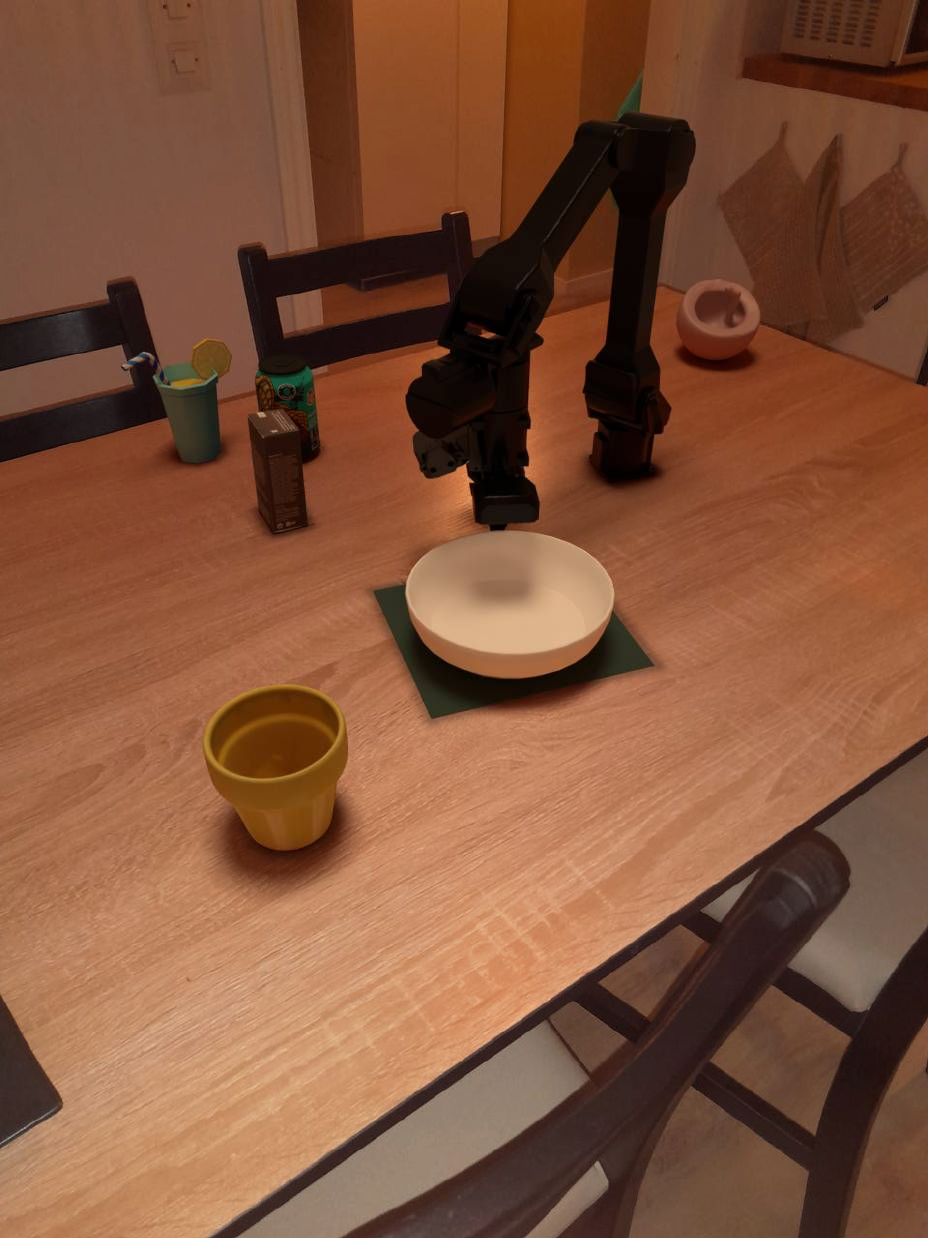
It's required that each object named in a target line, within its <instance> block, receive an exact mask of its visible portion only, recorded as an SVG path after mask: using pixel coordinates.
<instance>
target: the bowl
mask: <svg viewBox="0 0 928 1238" xmlns="http://www.w3.org/2000/svg"><path fill="white" fill-rule="evenodd" d="M405 584H406V591H405V595H406V600H407V606H408V610H409V614H410V618H411V621H412V623H413V625H414V627H415V629H416V631H417V632H418V634H419V636H420V637H421V639H422V641H423V643H424V644H425V645H426V646H427V647H428V648H429V649H430V650H431V651H432V652H433V653H434V654H436V655H437V656H439V657H440V658H442V659H443V660H445V661H446V662H448V663H450V664H452V665H454V666H457V667H459V668H461V669H463V670H467V671H469V672H471V673H475V674H479V675H482V676H486V677H492V678H500V679H523V678H530V677H537V676H540V675H544V674H547V673H551V672H554V671H558V670H561V669H563V668H565V667H567V666H569V665H571V664H574V663H575V662H577V661H578V660H580V659H581V658H582V657H584V656H585V655H587V654H588V653H589V652H590V651H591V649H592V648H593V647H594V646H595V645H596V644H597V642H598V641H599V639H600V638H601V636H602V634H603V633H604V631H605V629H606V627H607V625H608V623H609V621H610V617H611V613H612V610H613V611H614V605H615V598H616V593H615V588H614V583H613V581H612V579H611V577H610V574H609V573H608V571H607V570H606V569H605V567H604V566H603V565H602V563H600V562H599V560H598V559H596V557H594V556H593V555H591V554H590V553H588V551H585V549H583V548H580V547H579V546H577V545H575V544H573V543H571V542H569V541H567V540H563V539H561V538H558V537H556V536H555V537H554V536H551V535H547V534H542V533H538V532H534V531H533V532H532V531H525V530H506V529H505V530H497V531H490V530H488V531H478V532H475V533H470V534H466V535H462V536H458V537H456V538H453V539H450V540H448V541H444V542H443V543H441V544H439V545H437V546H436V547H434V548H432V549H430V550H429V551H428V552H426V554H424V555H423V556H422V557H421V558H419V560H418V561H417V562H416V563H415V565H414V566H413V567H412V568H411V570H410V571H409V573H408V576H407V578H406V581H405Z"/></svg>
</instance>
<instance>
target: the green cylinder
mask: <svg viewBox="0 0 928 1238" xmlns="http://www.w3.org/2000/svg"><path fill="white" fill-rule="evenodd" d="M257 367H258V369H257V372H256V374H255V376H254V386H255V393H256V400H257V407H258V413H259V412H265V411H271V410H278V409H283V410H284V411H285V412H286V414H287V415H288V416H289V417H290V419H291V420H292V421H293V422H294V424H295V425H296V426H297V428H298V429H299V434H300V445H301V456H302V462H305V461H307V460H309V459H311V458H313V457H314V456H315V455H316V454H317V452H318V451H319V450H320V447H321V439H320V429H319V420H318V410H317V400H316V399H317V398H316V390H315V380H314V374H313V372H312V370H311V368H309V366H308V365H307V360H306V358H305V357H304V356H302V355H299V354H296V353H289V352H284V353H283V352H282V353H281V352H280V353H273V354H270V355H267V356H264V357H263V358H261V359H260V360H258V363H257Z"/></svg>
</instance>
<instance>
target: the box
mask: <svg viewBox="0 0 928 1238" xmlns="http://www.w3.org/2000/svg"><path fill="white" fill-rule="evenodd" d="M247 424H248V432H249V441H250V449H251V458H252V466H253V474H254V483H255V491H256V499H257V507H258V511H259V512H260V514H261V515H262V517H263V519H264V520H265V522H266V524H267V525H268V527H269V528H270V530H271V532H272V533H274V534H276V533H280V534H281V533H282V532H286V531H291V530H294V529H298V528H301V527H305V526H307V525H308V524H309V522H308V521H309V520H308V510H307V509H308V508H307V498H306V497H307V496H306V488H305V478H304V466H303V461H302V456H301V445H300V434H299V429H298V428H297V426H296V425H295V424H294V422H293V421H292V420H291V419H290V417H289V416H288V415H287V414H286V412H285V411H284V410H283V409H278V410H271V411H265V412H259V411H258V412H255V413H249V414H248V415H247Z"/></svg>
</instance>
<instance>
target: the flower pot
mask: <svg viewBox="0 0 928 1238" xmlns="http://www.w3.org/2000/svg"><path fill="white" fill-rule="evenodd" d="M347 729H348V728H347V723H346V718H345V715H344V712H343V711H342V709H341V707H340V706H339V704H338V703H337V702H336V701H335V700H334V699H333V698H331V697H330V696H329V695H328V694H326V693H324V692H323V691H320V690H319V689H316V688H314V687H310V686H306V685H300V684H295V683H294V684H292V683H279V684H269V685H265V686H260V687H256V688H253V689H250V690H248V691H245V692H242V693H241V694H239V695H237V696H235V697H232V698H231V699H230V700H228V701H227V702H225V703H224V704H223V705H222V706H220V708H218V709H217V710H216V712H215V713H214V714H213V715H212V716H211V718H210V719H209V721H208V722H207V725H206V726H205V729H204V732H203V736H202V752H203V757H204V760H205V764H206V768H207V772H208V775H209V778H210V780H211V783H212V785H213V787H214V789H215V790H216V792H217V793H218V794H219V795H220V796H221V798H223V799H224V800H225V801H226V802H228V803H230V804H231V805H232V806H233V808H234V810H235V812H236V813H237V815H238V816H239V818H240V819H241V822H242V824H243V825H244V826H245V828H246V830H247V832H248V833H249V835H250V837H252V839H253V840H254V841H255V842H256V843H258V844H259V845H261V846H263V847H265V848H267V849H271V850H274V851H279V852H280V851H281V852H283V851H284V852H285V851H286V852H287V851H294V850H299V849H302V848H305V847H307V846H308V845H312V844H313V843H315V842H316V841H317V840H319V839H320V838H321V837H322V836H323V835H325V834H326V832H327V830H328V829H329V826H330V825H331V823H332V819H333V812H334V806H335V800H336V793H337V788H338V782H339V780H340V779H341V778H342V776H343V773H344V772H345V770H346V766H347V765H348V764H347V763H348V759H349V740H348V739H349V738H348V730H347Z"/></svg>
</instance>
